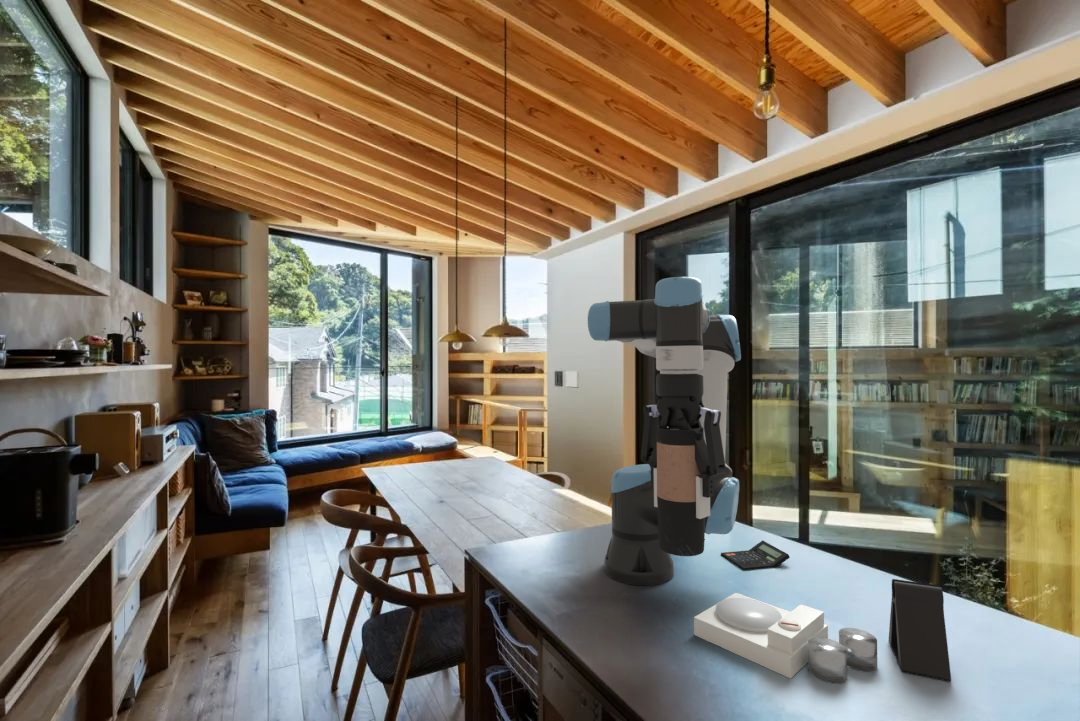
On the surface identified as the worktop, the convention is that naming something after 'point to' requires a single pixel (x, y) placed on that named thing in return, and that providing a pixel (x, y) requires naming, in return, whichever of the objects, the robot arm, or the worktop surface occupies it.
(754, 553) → the calculator
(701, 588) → the worktop surface
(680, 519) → the travel mug
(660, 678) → the worktop surface
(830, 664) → the cylinder
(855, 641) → the cylinder
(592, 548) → the worktop surface
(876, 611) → the worktop surface
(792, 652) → the scale
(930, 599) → the phone stand
